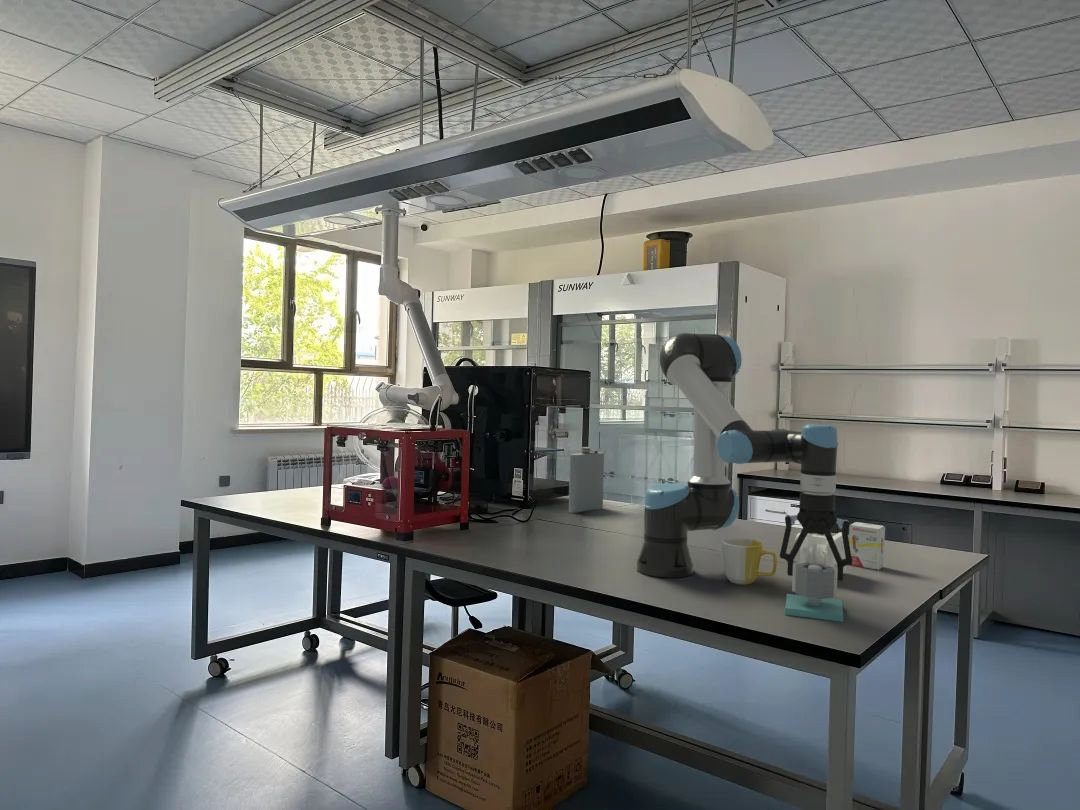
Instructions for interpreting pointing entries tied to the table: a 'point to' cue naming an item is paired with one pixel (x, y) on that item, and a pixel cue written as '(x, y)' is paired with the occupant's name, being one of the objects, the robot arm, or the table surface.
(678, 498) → the robot arm
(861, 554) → the ink box
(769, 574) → the mug
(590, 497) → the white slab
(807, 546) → the cable organizer
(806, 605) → the shaft block
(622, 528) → the table surface
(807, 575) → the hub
